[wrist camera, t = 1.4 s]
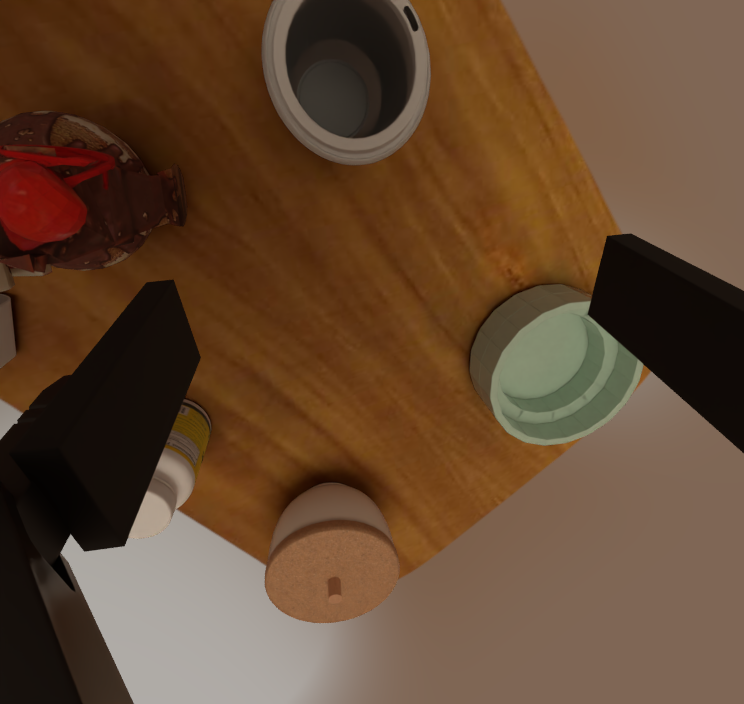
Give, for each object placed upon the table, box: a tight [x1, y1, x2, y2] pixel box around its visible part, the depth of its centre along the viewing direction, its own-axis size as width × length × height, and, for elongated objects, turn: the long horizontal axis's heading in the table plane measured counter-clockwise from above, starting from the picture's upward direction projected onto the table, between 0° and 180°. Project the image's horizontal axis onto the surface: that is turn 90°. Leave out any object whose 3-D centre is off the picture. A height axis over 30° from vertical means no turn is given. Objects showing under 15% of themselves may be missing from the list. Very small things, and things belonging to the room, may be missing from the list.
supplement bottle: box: [128, 399, 211, 538], centre depth 30 cm, size 5×5×10 cm
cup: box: [262, 0, 431, 165], centre depth 21 cm, size 7×7×12 cm
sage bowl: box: [470, 284, 644, 446], centre depth 34 cm, size 12×12×5 cm
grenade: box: [0, 111, 187, 292], centre depth 20 cm, size 9×8×15 cm
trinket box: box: [265, 483, 400, 623], centre depth 36 cm, size 11×11×9 cm
